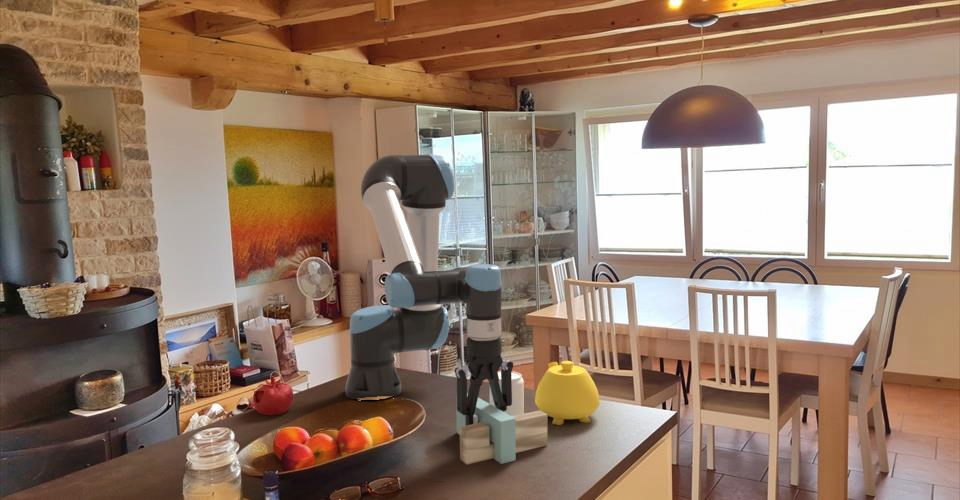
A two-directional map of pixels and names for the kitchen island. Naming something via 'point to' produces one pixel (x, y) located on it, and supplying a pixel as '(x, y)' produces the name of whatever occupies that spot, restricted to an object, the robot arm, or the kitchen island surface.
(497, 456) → the teal board
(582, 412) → the teapot
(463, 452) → the birch rail
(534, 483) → the kitchen island surface
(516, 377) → the beverage can
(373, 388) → the robot arm
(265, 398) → the pomegranate
